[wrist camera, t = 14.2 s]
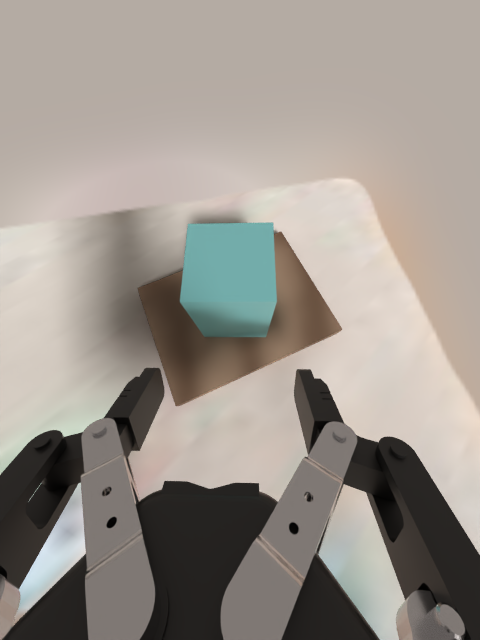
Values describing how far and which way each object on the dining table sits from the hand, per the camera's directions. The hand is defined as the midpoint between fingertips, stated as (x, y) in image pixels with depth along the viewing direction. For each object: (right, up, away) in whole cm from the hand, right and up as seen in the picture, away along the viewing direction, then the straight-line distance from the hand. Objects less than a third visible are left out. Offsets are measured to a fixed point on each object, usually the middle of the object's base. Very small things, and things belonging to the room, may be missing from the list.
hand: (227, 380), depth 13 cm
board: (0, +4, +9) cm, 10 cm away
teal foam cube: (0, +5, +8) cm, 9 cm away
